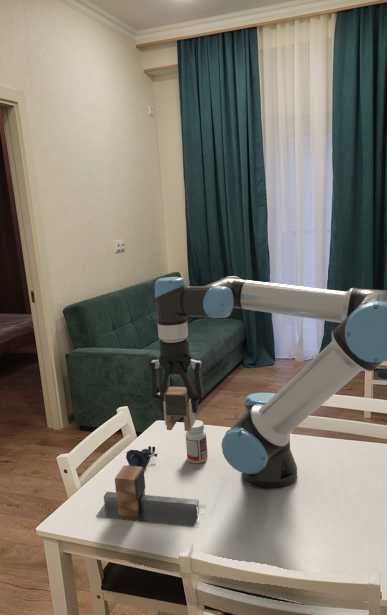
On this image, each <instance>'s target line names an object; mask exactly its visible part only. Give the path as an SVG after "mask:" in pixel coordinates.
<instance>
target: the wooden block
mask: <svg viewBox="0 0 387 615" xmlns="http://www.w3.org/2000/svg"><path fill="white" fill-rule="evenodd" d="M145 480H146V479H145V470H144V467H138V466H130V465H123V466H122V467H121V469H120V470H119V471H118V473H117V474H116V476H115V478H114V485H115V486H114V487H115V492H116V496H117V505H118V515H121V516H131V517H138V516H139V505H138V500H139V498H140V496H141V495H146V481H145Z"/></svg>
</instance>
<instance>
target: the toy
mask: <svg viewBox="0 0 387 615" xmlns="http://www.w3.org/2000/svg"><path fill="white" fill-rule="evenodd" d="M153 452H154V453H153ZM155 452H156V447H155V446H150V445H149V446H147V448H143V449H142V450H138V449H130V450H127V451H126V456H125V459H126V461H127V463H128V466H138V467H143V468H146V467H147V466H148V463H149V459H151V457H158V453H157V452H156V453H155Z"/></svg>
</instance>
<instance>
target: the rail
mask: <svg viewBox="0 0 387 615" xmlns="http://www.w3.org/2000/svg"><path fill="white" fill-rule="evenodd" d="M138 505H139V516H138V517H131V516H121V515H118V505H117V496H116V491H115V492H113V491H106V492H105V493H104V495H103V505H102V507H101V508H100V509H99V511H98V512H97V514H96V515H95V518H101V519H109V520H120V521H128V522H129V521H131V522H139V523H149V524H159V525H168V526H177V527H179V526H181V527H187V528H188V527H189V528H197V529H198V528H199V526H200V524H201V520H202V519H203V515H204V514H205V510H206V507H207V504H205V503H200V501H199V499H194V498H184V497H173V496H171V497H170V496H161V495H160V496H158V495H152V494H151V495H149V494H145V495H141V496H140V498H139V500H138Z"/></svg>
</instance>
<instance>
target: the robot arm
mask: <svg viewBox="0 0 387 615" xmlns="http://www.w3.org/2000/svg"><path fill="white" fill-rule="evenodd" d="M154 299H155V305H156V308H155V309H156V318H157V334H158V339H159V341H158V345H159V346H158V348H159V358H158V359H152V360H151V361H150V362H149V368H150V371H151V396H152V398H153V399H157V400H158V401H159V406H160V412H161V413H164V414H163V415H164V426H167V425H166V413H165V401H164V393H165V392H166V390H167V389H168V388H169V387H170V386H169V385H170V381H171V377H172V375H175V374H176V375H180V378H181V379H182V381H183V383H184V387H186V389H187V391H188V394H189V397H190V401H189V402H188V405H189V418H190V426H193V425H194V423H195V420H196V414H197V413H198V410H199V405H198V401H200V400H201V401H202V399H203V397H204V396H205V392H204V391H205V390H204V384H203V376H202V365H203V361H202V360H201V359H198V360H196V359H193V358H192V356H191V355H190V341H189V340H190V339H189V338H188V336H189V329H188V328H189V327H188V317H189V318H190V317H192V318H193V317H195V318H211V319H220V318H222V319H223V318H228V317H229V316H230V315H231V314H232V311H233V309H240V310H241V309H242V310H247V311H248V310H250V311H255V312H261V313H262V312H263V313H269V314H278V315H284V316H292V317H296V318H298V317H299V318H306V319H310V320H312V319H313V320H319V321H326V322H331V323H332V322H333V323H339V324H338V325H337V326H336V327H335V328H334V329H333V330H332V332H331V342H330V343H329V344H327V346H325V347H324V348H323V349H322V350H321V351H320V352H319V353H318V354H317V355H316V356H315V357H314V358H313V359H312V360H310V361H309V362H308V363H307V364H306V365H305V366H304V367H303V368H302V369H301V370H300V371H299V372H298V373H296V375H294V376H293V377H292V378H291V379H290V380H289V381H288V382H287V383H286V384H285V385H283V387H282V388H281V389H280V390H278V392H276V393H274V392H255V393H251V394H248V395H247V396H245V399H244V408H245V410H244V412H243V413H242V414H241V416H240V417H239V418H238V420H237V421H236V422H235V423H234V424H232V426H231V427H230V429H228V430H226V431H225V433H224V436H223V438H222V441H221V450H222V455H223V457H224V459H225V460H226V462H227V463H228V464H229V466H231V467H232V468H233V469H234V470H235V471H238V472H240V473H241V475H242V478H243V480H244V481H245V482H246V483H247V484H249V485H250V486H253V487H254V488H258V489H263V490H280V489H283V488H287V487H289V486H291V485H293V484H294V483H295V481H297V479H298V466H297V463H296V461H295V459H294V458H295V457H294V456H293V452H292V451H291V450H292V449H291V440H290V439H291V438H290V437H291V435H290V434H291V432H292V431H293V430H295V429H296V428H298V426H299V425H300V424H302V423H303V422H304V421H305V420H306V419H308V417H310V415H312V414H313V413H314V412H315V411H316V410H318V409H319V408H320V407H321V406H322V405H323V404H325V403H326V402H327V401H328V400H329V399H330V398H332V397H333V396H334V395H335V394H337V392H339V390H341V389H342V388H343V387H344V386H345V385H347V383H349V382H350V381H351V380H352V379H354V378H355V377H356V376H357V375H358V374H359V373H361V372H369V373H371V372H373V371H374V370H375V369H377V368H378V367H379V366H380V365H382V363H384V362H387V290H384V289H383V290H382V289H369V288H357V287H351V288H349V289H348V290H347V291H344V290H336V289H327V288H326V289H325V288H318V287H311V286H310V287H309V286H301V285H300V286H299V285H291V284H282V283H275V282H274V283H272V282H266V281H265V282H264V281H257V280H255V281H254V280H248V279H242V278H241V277H239V276H236V275H231V276H230V275H229V276H226V277H222V278H220V279H218V280H217V281H213V282H211V283H209V284H206V285H201V286H200V285H198V286H197V285H196V286H195V285H194V286H193V285H191V286H190V285H186V282H185V278H183V277H179V276H167V277H161V278H159V279H156V281H155V282H154ZM190 365H191V367H192V369H193V373H194V374H193V375H194V381H195V385H194V383H193V381H192V378H191V375H190V371H189V369H188V368H189V366H190ZM160 366H161V367H162V368H163V369H164V374H163V380H162V384H161V388H160Z"/></svg>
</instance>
